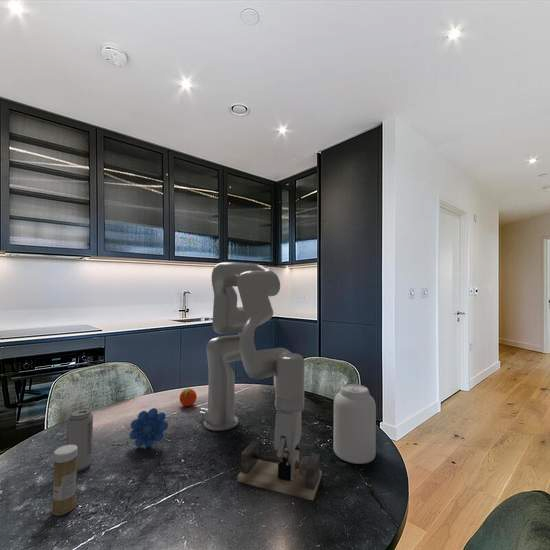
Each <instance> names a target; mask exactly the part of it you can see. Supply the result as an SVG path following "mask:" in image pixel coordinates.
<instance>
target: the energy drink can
mask: <svg viewBox="0 0 550 550" xmlns="http://www.w3.org/2000/svg"><path fill="white" fill-rule="evenodd" d="M91 410H92V409H90V408H80V409H75V410H74V411H71V412H70V413H69V414H70V416H69V418H68V419H67V425H66V426H67V430H66V445H76V446H77V447H78V454H77V458H76V473H77V472H81V471H84V470H86V469H87V468H88V467H89V466H90V464H91V463H92V460H93V436H94V435H93V432H94V431H93V429H94V415H93V413H92V411H91Z"/></svg>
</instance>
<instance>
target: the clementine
mask: <svg viewBox="0 0 550 550" xmlns="http://www.w3.org/2000/svg"><path fill="white" fill-rule="evenodd" d="M179 401H180V404H181V405H182V406H184V407H190V406H193V405H194V404H195V402H196V401H197V392H196V391H195V390H194V389H192V388H186V389H184V390H182V391H181V393H180V395H179Z"/></svg>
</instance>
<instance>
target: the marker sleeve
mask: <svg viewBox="0 0 550 550" xmlns="http://www.w3.org/2000/svg"><path fill="white" fill-rule="evenodd" d="M285 450H286V451H289V449H288V448H285ZM284 457H286V459H287V453H284ZM296 462H300V449H299V450H294V451H293V452H292V453H291V456H290V463H289V464H291V480H293V481H294V479H295V477H296V475H297V472H298V470H299V469H296V468H295V463H296Z"/></svg>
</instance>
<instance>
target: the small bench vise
mask: <svg viewBox="0 0 550 550" xmlns="http://www.w3.org/2000/svg"><path fill="white" fill-rule="evenodd" d="M259 448H260V447H259V441H255V440H251V442H250V443H249V444H248V445H247V446H246V448H245V449H244V450H242V452H241V453H240V456H241V457H240V458H241V459H240V472H238V473H239V474H238V475H237V482H239V483H242V484H247V485H250V486H254V487H257V488H262V489H266V490H270V491H273V492H278V493H282V494H285V495H289V496H294V497H298V498H302V499H305V500H309V501H314V500H315V496H316V493H317V491H318V488H319V485H320V482H321V479H322V476H323V475H322V474H323V473H322V470H321V469H320V468H321V455H320V453H314V452H312V453H311V456H310V457H304V456H302V457H301V458H300V459H299V462H296V463H295V468H296V469H299V470H298V472H297V475H296V477H295V479H294V481H293V480H290V481H286V480H281V479H279V478H278V458H277V457H273V456H268V455H263V454H260V453H259Z"/></svg>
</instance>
